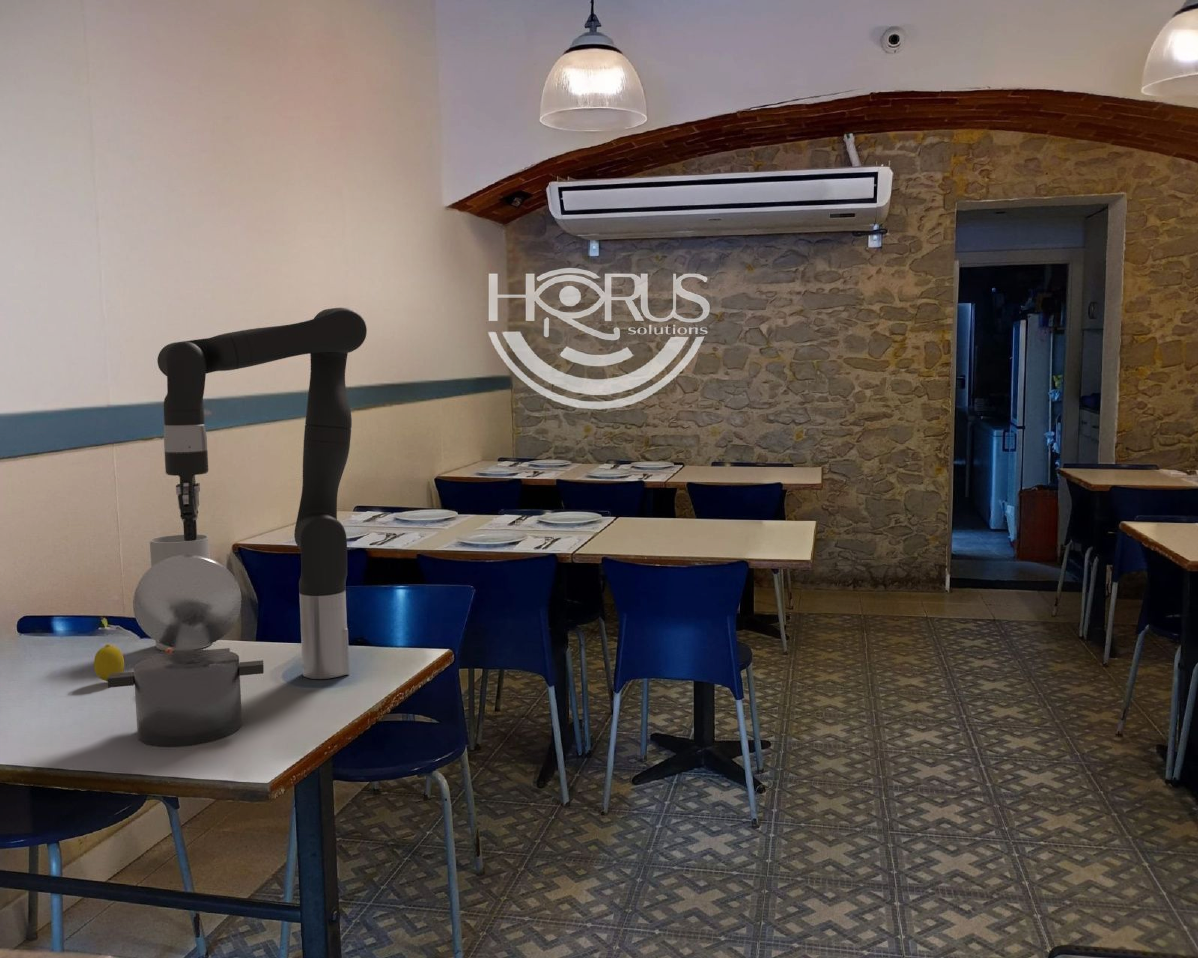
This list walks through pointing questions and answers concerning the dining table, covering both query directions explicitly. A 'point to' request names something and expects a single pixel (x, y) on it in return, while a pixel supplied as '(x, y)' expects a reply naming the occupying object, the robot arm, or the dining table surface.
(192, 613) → the cooker lid
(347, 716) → the dining table surface
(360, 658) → the dining table surface
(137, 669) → the cooker pot
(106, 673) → the lemon
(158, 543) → the cylinder vase
